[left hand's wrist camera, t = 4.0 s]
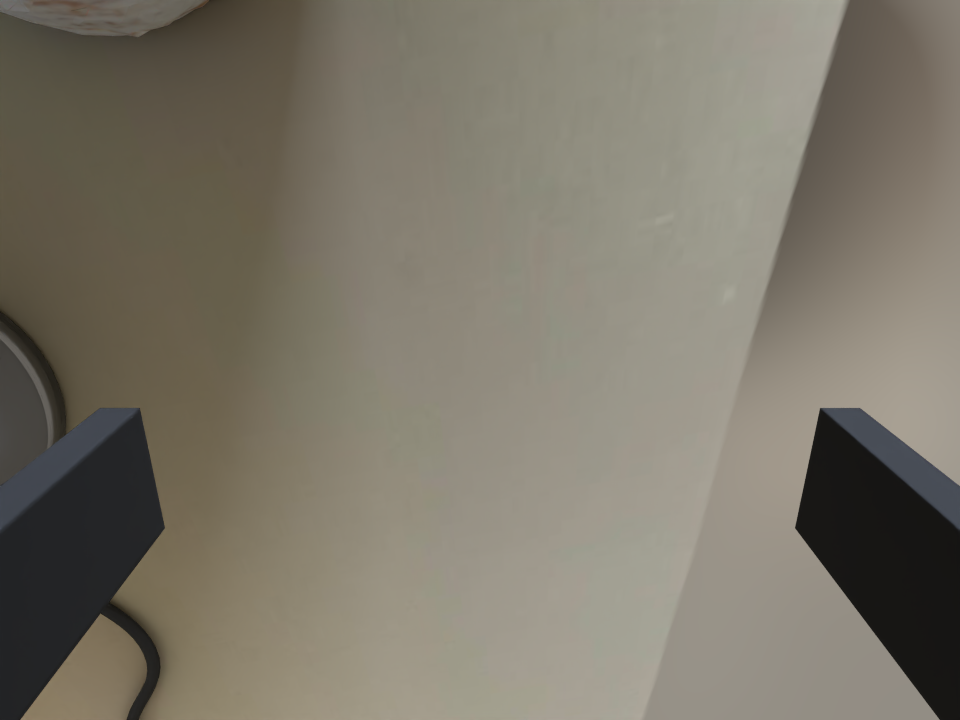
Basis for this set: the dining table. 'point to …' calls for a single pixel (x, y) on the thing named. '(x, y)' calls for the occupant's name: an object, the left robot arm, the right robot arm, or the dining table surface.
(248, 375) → the dining table surface
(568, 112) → the dining table surface
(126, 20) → the cake
